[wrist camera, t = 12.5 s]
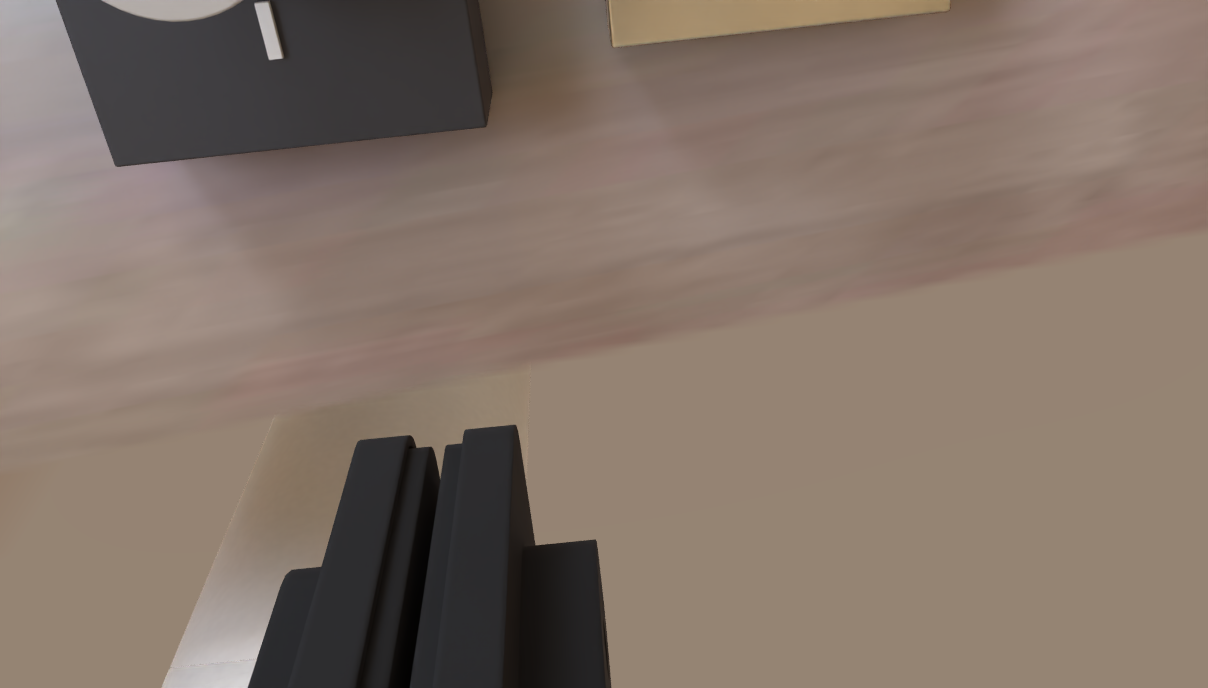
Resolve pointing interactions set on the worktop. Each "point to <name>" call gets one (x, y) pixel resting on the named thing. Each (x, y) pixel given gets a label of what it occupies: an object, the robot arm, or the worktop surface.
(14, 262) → the worktop surface
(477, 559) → the robot arm
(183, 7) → the knob
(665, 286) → the worktop surface
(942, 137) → the worktop surface
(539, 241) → the worktop surface
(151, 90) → the panel
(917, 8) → the button box
